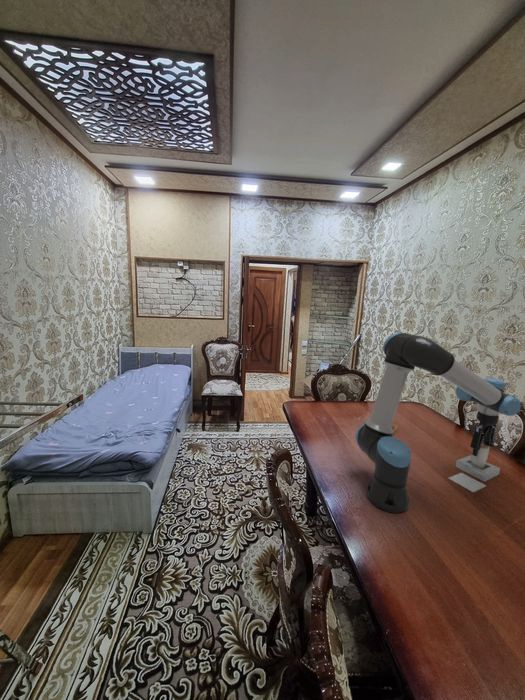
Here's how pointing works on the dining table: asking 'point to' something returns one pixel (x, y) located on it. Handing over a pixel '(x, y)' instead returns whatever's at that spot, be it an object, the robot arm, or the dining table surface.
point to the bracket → (394, 428)
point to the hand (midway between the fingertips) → (478, 460)
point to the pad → (467, 482)
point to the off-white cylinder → (481, 457)
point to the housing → (477, 469)
